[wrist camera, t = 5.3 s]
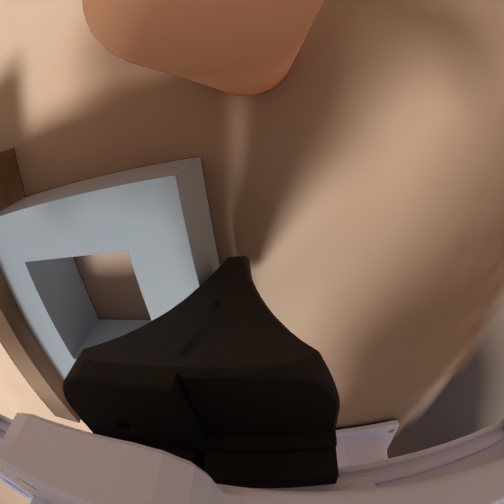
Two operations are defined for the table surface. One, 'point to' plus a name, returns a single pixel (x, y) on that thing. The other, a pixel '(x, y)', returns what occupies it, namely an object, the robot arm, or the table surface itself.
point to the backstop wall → (13, 323)
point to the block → (106, 250)
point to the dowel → (207, 38)
